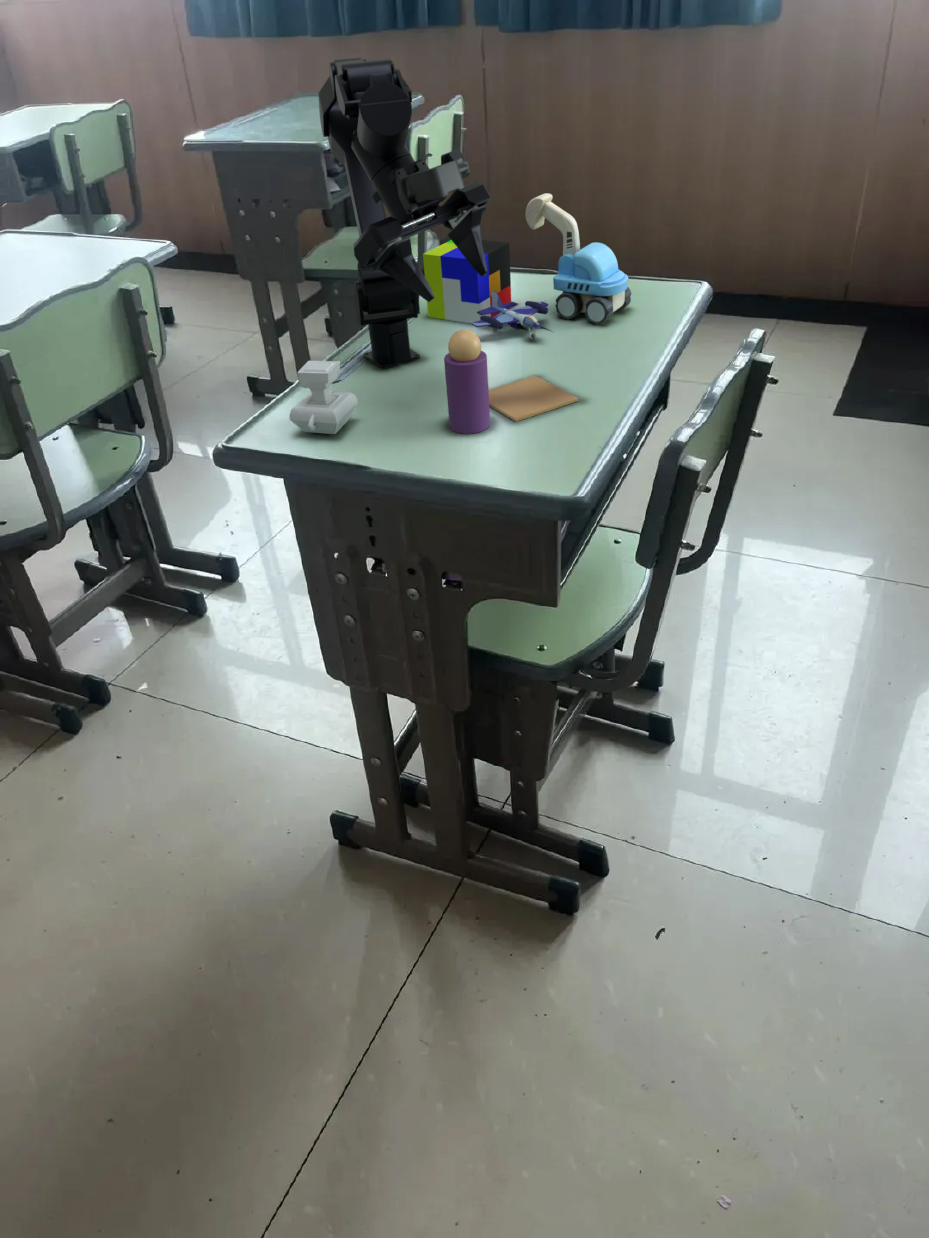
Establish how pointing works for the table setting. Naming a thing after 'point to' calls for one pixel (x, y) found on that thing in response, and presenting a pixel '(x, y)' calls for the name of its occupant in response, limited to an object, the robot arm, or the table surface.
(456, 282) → the puzzle toy
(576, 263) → the toy excavator
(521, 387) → the cork coaster
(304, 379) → the stamp
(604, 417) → the table surface
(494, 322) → the toy airplane
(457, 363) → the peg doll toy
